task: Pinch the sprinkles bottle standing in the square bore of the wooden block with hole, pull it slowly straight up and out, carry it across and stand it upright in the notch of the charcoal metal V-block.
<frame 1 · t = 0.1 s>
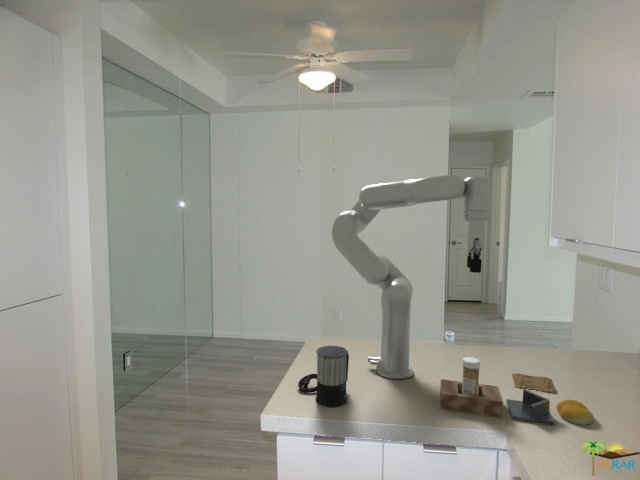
hand: (473, 269, 129), 37 cm above the countertop, tool pointing down, fingers open, 9 cm apart
bread roll: (573, 417, 111), on the countertop
v block: (527, 413, 112), on the countertop
sprinkles bottle: (469, 405, 117), resting in wooden block with hole
wooden block with hole: (469, 405, 117), on the countertop
cookie: (533, 385, 132), on the countertop
milk frother: (321, 396, 122), on the countertop
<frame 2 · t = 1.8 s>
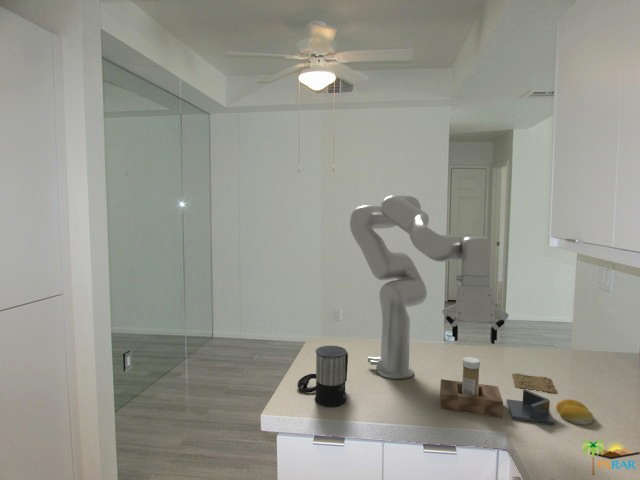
hand: (473, 340, 115), 19 cm above the countertop, tool pointing down, fingers open, 9 cm apart
nothing on the countertop moved.
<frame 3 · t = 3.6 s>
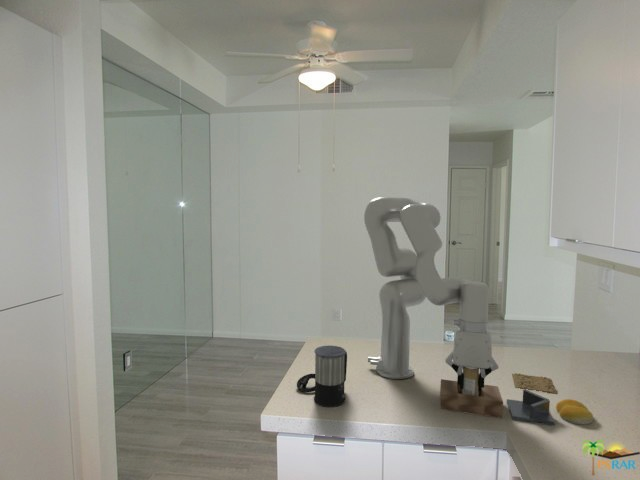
hand: (470, 387, 116), 5 cm above the countertop, tool pointing down, fingers closed on sprinkles bottle, 4 cm apart
sprinkles bottle: (469, 405, 117), resting in wooden block with hole, touching gripper
everything else where it was.
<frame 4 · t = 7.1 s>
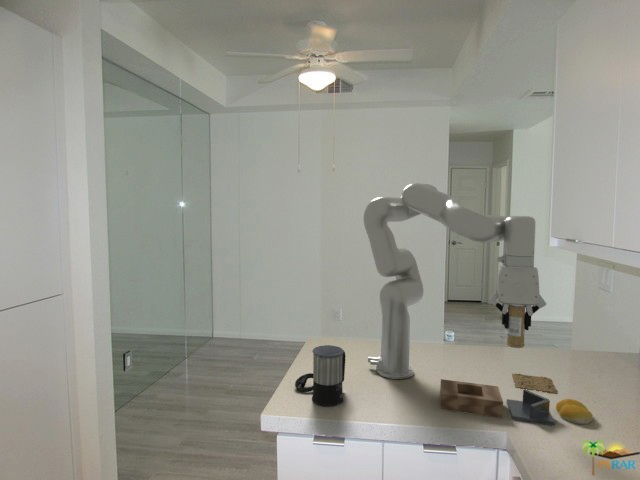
hand: (515, 327, 111), 24 cm above the countertop, tool pointing down, fingers closed on sprinkles bottle, 4 cm apart
sprinkles bottle: (515, 346, 112), point 19 cm above the countertop, touching gripper
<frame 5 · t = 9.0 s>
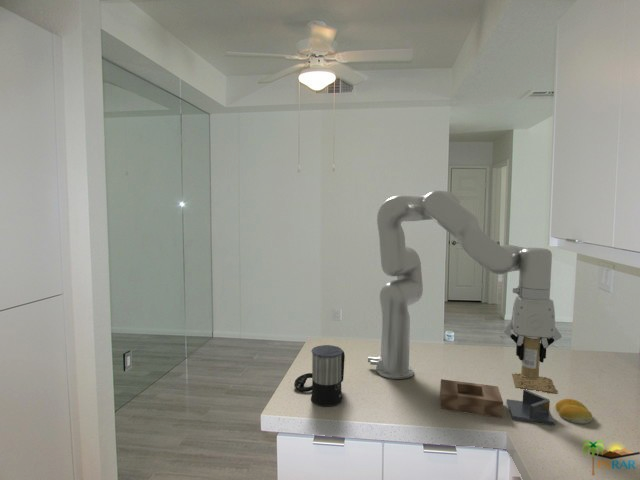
hand: (530, 358, 111), 15 cm above the countertop, tool pointing down, fingers closed on sprinkles bottle, 4 cm apart
sprinkles bottle: (529, 377, 112), point 10 cm above the countertop, touching gripper
when the fingers open (8 cm above the countertop, at t = 10.7 s): sprinkles bottle drops 1 cm, resting on v block.
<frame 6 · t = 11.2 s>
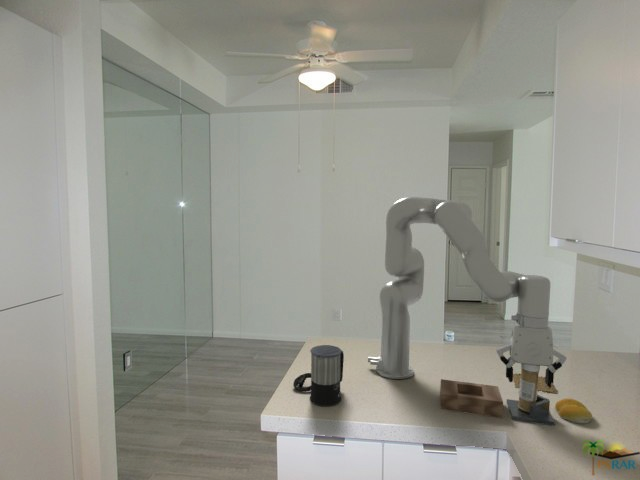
hand: (528, 382, 112), 9 cm above the countertop, tool pointing down, fingers open, 9 cm apart
sprinkles bottle: (526, 409, 113), point 1 cm above the countertop, touching v block
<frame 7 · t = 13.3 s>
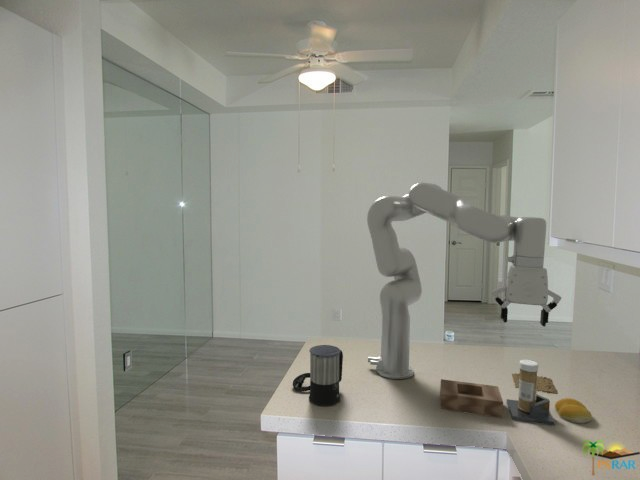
hand: (523, 323, 113), 25 cm above the countertop, tool pointing down, fingers open, 9 cm apart
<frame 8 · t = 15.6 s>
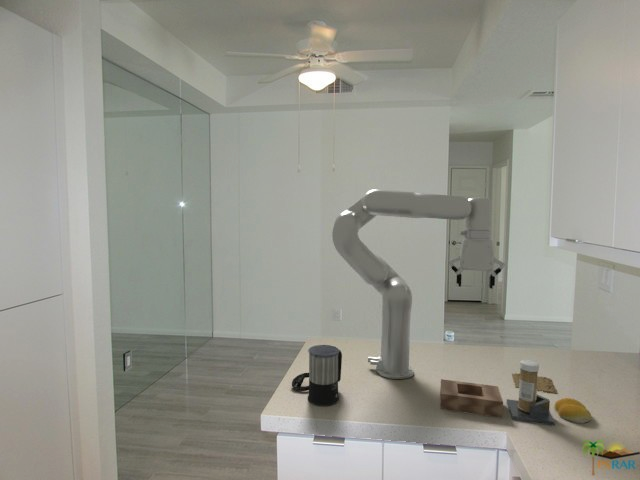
hand: (475, 286, 135), 30 cm above the countertop, tool pointing down, fingers open, 9 cm apart
at the end: sprinkles bottle 0.1 cm off-centre on the v block, point 0.8 cm above the v block's base; sprinkles bottle tilted 1°; the gripper is holding nothing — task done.
